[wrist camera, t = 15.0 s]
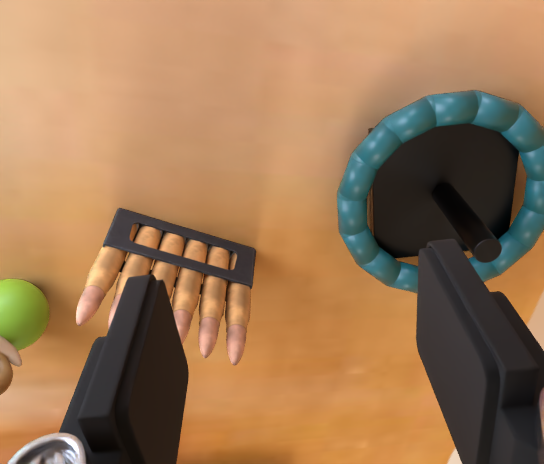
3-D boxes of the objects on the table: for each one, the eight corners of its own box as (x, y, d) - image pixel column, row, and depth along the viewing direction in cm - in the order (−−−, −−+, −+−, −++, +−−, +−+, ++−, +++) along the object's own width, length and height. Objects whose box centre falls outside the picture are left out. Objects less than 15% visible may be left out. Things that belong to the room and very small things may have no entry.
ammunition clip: (256, 249, 40) (255, 356, 29) (248, 268, 40) (245, 379, 30) (118, 207, 38) (63, 307, 27) (112, 228, 38) (58, 333, 28)
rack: (368, 128, 35) (401, 180, 27) (515, 111, 35) (593, 159, 27) (371, 252, 40) (399, 328, 32) (500, 239, 40) (562, 312, 32)
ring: (330, 102, 33) (334, 111, 31) (566, 75, 33) (583, 82, 31) (340, 292, 40) (344, 308, 39) (534, 273, 40) (546, 287, 38)
